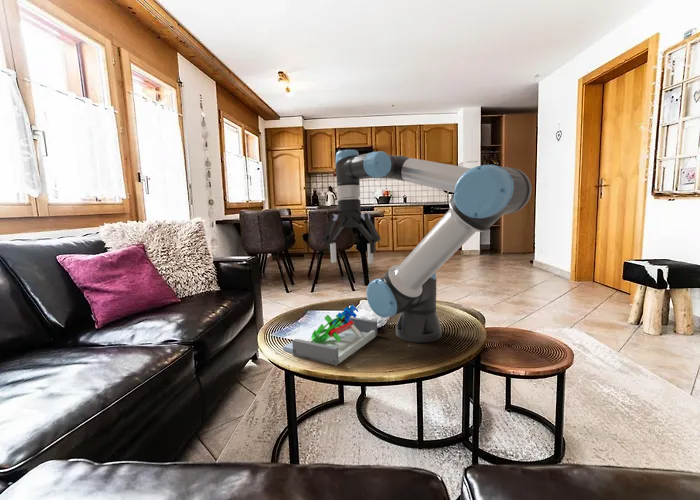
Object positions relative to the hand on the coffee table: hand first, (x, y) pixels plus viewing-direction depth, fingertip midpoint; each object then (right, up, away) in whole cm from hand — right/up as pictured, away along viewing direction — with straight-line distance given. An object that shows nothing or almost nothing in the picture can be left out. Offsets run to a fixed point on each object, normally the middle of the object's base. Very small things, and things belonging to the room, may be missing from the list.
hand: (351, 262), depth 121 cm
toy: (-6, -26, -5) cm, 27 cm away
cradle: (-4, -26, -7) cm, 27 cm away
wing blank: (-17, -27, -9) cm, 33 cm away
